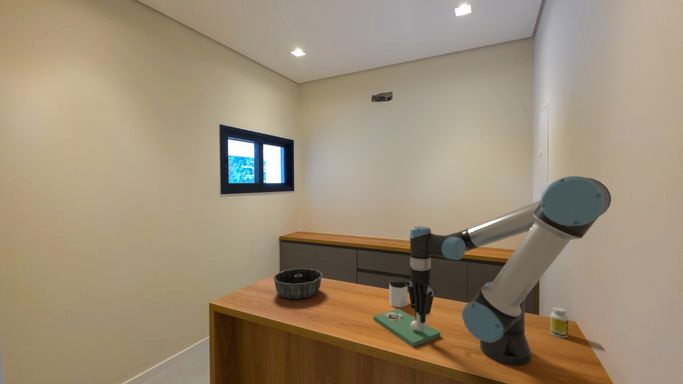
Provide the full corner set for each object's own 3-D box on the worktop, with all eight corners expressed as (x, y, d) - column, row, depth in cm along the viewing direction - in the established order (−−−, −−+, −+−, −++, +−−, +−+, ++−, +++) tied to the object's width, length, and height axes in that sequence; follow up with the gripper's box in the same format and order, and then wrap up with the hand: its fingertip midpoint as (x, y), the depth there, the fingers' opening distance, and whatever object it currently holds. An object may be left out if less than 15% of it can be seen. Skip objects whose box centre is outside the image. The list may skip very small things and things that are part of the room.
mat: (440, 336, 106) (440, 332, 106) (413, 347, 99) (413, 342, 99) (398, 312, 127) (398, 308, 127) (373, 319, 120) (373, 316, 120)
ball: (423, 329, 107) (420, 319, 108) (416, 331, 105) (413, 321, 106) (417, 329, 109) (414, 320, 111) (410, 332, 108) (407, 322, 109)
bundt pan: (320, 303, 139) (320, 283, 138) (267, 303, 139) (267, 283, 139) (324, 284, 165) (324, 268, 165) (280, 285, 165) (280, 268, 165)
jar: (397, 309, 130) (397, 283, 130) (385, 303, 137) (385, 279, 137) (411, 304, 135) (410, 280, 135) (399, 299, 142) (398, 275, 142)
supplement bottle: (569, 339, 103) (569, 313, 102) (551, 335, 106) (551, 310, 105) (567, 333, 107) (567, 307, 107) (549, 329, 110) (549, 305, 110)
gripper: (441, 271, 101) (441, 335, 102) (415, 262, 112) (415, 320, 113) (426, 274, 97) (426, 340, 98) (401, 265, 109) (401, 324, 109)
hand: (420, 329), depth 105 cm, fingers closed
